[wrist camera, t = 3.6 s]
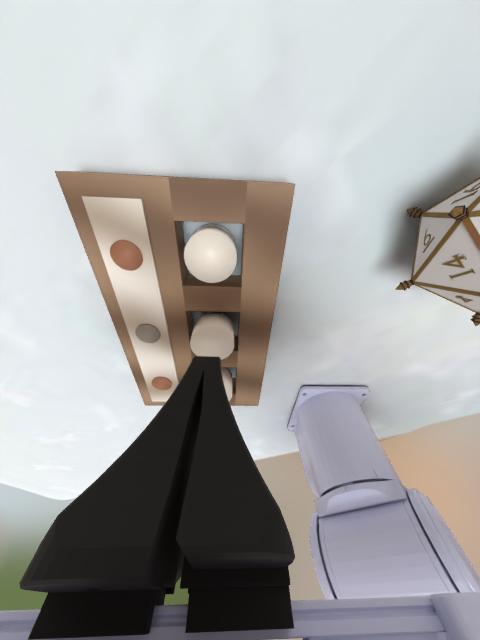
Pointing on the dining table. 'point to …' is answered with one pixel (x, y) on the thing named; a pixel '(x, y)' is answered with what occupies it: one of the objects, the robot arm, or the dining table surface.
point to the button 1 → (211, 253)
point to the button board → (180, 268)
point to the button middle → (213, 336)
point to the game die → (450, 249)
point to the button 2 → (227, 382)
